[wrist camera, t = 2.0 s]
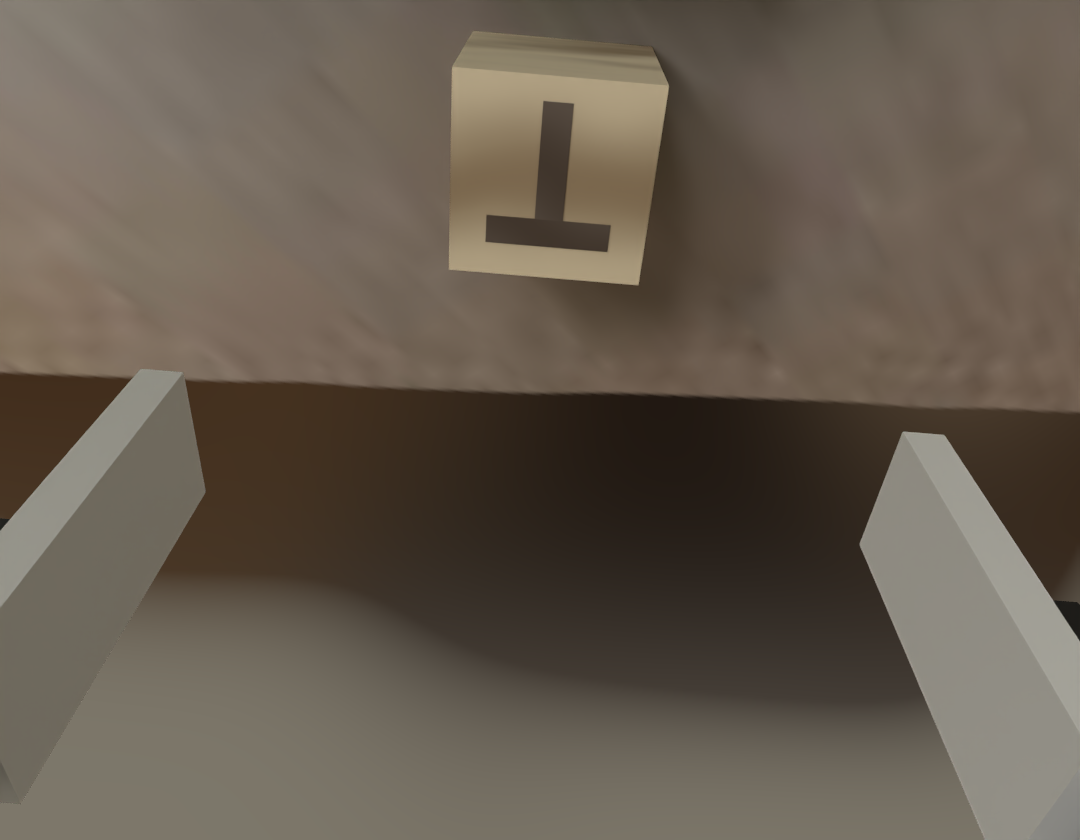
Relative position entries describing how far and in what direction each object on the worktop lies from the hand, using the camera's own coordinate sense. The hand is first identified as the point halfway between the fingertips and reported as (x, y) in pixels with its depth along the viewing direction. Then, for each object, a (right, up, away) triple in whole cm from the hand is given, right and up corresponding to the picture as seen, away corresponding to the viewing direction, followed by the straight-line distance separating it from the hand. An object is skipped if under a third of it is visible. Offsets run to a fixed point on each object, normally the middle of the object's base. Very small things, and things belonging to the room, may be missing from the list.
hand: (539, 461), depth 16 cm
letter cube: (+1, +13, +19) cm, 23 cm away
